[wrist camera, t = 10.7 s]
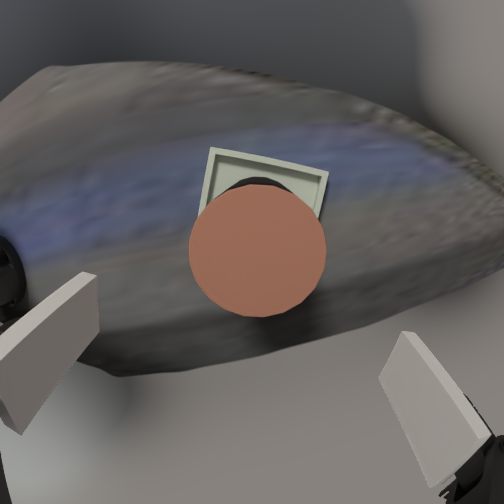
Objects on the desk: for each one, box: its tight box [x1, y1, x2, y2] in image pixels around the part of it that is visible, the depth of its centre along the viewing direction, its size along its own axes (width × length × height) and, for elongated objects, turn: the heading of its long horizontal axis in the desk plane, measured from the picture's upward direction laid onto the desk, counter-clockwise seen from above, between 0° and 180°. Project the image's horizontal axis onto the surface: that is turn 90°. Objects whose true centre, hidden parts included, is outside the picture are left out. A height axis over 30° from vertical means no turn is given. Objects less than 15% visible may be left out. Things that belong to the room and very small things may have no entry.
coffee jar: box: [189, 176, 327, 317], centre depth 30 cm, size 11×11×18 cm
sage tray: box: [198, 147, 329, 218], centre depth 39 cm, size 16×16×2 cm
